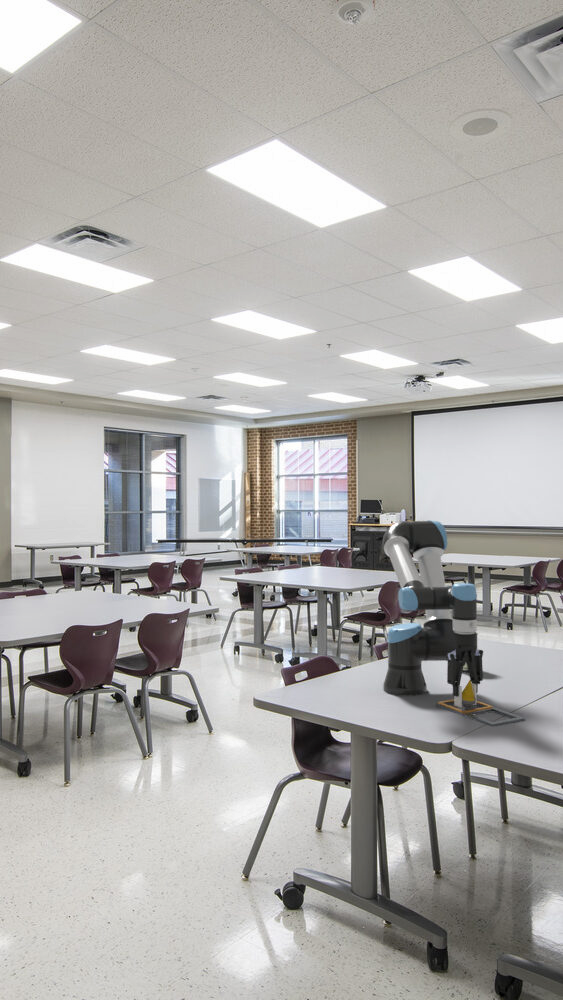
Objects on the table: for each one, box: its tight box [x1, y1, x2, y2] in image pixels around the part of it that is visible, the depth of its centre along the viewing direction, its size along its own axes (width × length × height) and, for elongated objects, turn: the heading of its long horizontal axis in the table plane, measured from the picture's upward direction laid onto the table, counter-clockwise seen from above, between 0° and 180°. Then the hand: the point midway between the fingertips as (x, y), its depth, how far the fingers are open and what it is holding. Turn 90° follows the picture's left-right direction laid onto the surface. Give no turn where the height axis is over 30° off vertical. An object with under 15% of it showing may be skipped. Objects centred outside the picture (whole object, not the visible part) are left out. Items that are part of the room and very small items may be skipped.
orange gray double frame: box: [435, 699, 526, 727], centre depth 211 cm, size 25×13×1 cm, turn 27°
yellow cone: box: [462, 679, 476, 709], centre depth 215 cm, size 5×5×10 cm
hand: (465, 704), depth 216 cm, fingers closed on yellow cone, 5 cm apart
